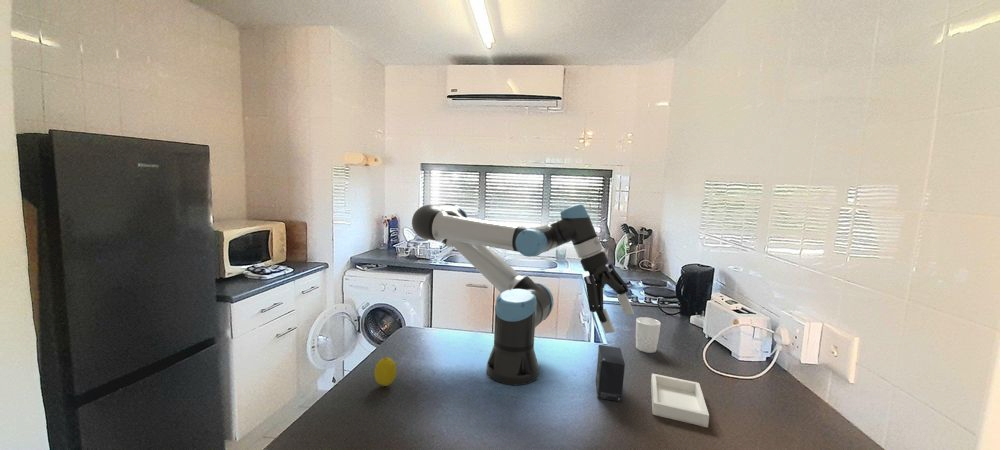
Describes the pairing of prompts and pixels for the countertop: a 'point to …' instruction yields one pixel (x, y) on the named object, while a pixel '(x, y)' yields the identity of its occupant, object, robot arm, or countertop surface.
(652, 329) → the white cup
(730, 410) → the countertop surface
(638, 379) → the countertop surface
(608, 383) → the small box
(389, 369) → the lemon
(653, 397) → the parts tray
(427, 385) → the countertop surface
